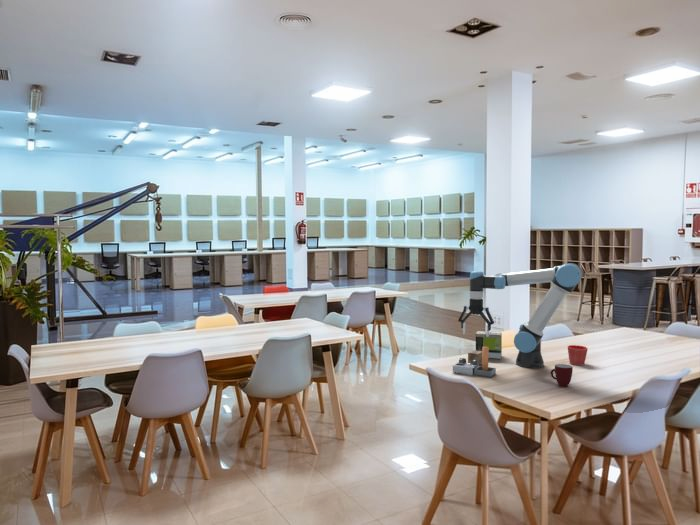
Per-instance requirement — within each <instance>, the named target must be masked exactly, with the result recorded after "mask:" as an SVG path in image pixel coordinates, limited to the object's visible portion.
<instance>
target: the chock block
mask: <svg viewBox="0 0 700 525" xmlns="http://www.w3.org/2000/svg"><path fill="white" fill-rule="evenodd" d="M472 360H478V362H479V366H481V365H482V364H481V363H482V351H476V349H475V350H474V349H472V350H470V351H468V352H467V363H469V364H471V362H472Z"/></svg>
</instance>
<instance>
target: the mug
mask: <svg viewBox="0 0 700 525" xmlns="http://www.w3.org/2000/svg"><path fill="white" fill-rule="evenodd" d="M554 373H555V376H554ZM572 376H573V366H572V364H571V365H570V364H564V363H558V364H555V365H554V368H553V369H552V370H551V371H550V377H551V378H552V379H553V380H556V383H557V385H558V387H561V388H567V387H569V385H570V383H571V381H572Z"/></svg>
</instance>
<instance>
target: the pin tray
mask: <svg viewBox="0 0 700 525" xmlns="http://www.w3.org/2000/svg"><path fill="white" fill-rule="evenodd" d="M496 370H497V368H496V367H489V366H488V371H483V370H482V365H479V366H478V367H477V368H476V369H474V375H473V376H476V375H477V376H478V377H483V376H484V378H493V377H494V376H495V375H496V374H497V373H496V372H497V371H496ZM493 375H494V376H493Z"/></svg>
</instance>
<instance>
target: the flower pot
mask: <svg viewBox="0 0 700 525" xmlns="http://www.w3.org/2000/svg"><path fill="white" fill-rule="evenodd" d="M567 352H568V353H567V354H568V360H569V364H571V365H574V366H585V362H586V360H587V354H588V347H587V346H583V345H576V344H570V345H567Z"/></svg>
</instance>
